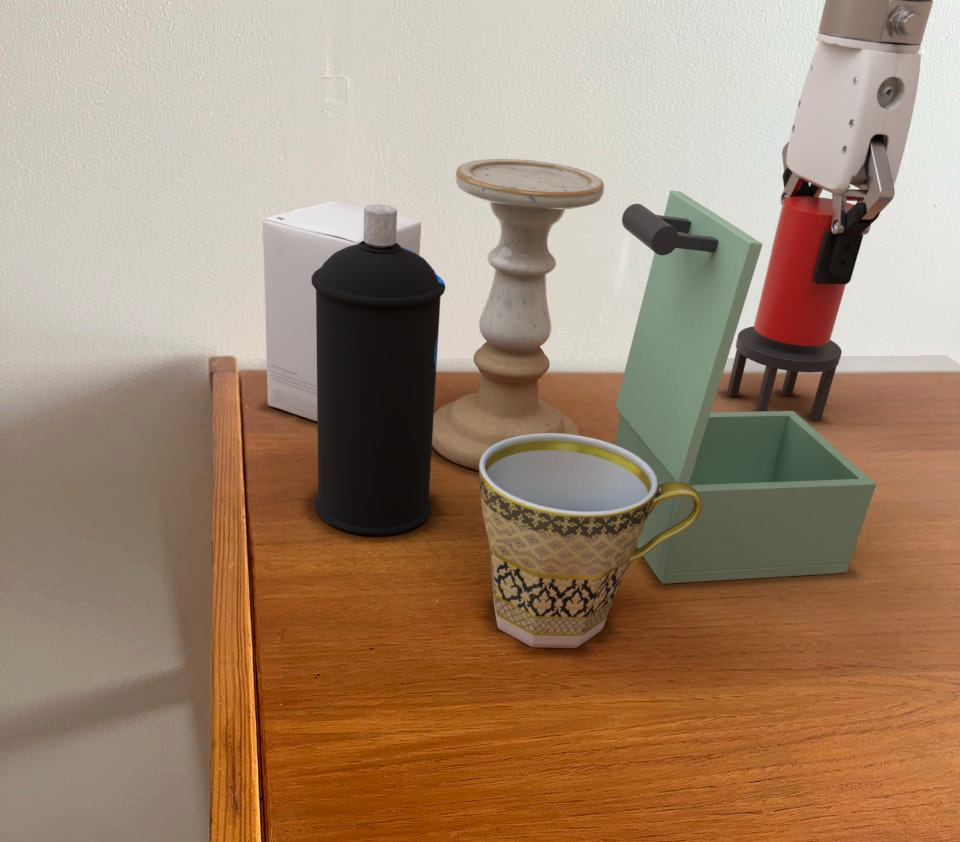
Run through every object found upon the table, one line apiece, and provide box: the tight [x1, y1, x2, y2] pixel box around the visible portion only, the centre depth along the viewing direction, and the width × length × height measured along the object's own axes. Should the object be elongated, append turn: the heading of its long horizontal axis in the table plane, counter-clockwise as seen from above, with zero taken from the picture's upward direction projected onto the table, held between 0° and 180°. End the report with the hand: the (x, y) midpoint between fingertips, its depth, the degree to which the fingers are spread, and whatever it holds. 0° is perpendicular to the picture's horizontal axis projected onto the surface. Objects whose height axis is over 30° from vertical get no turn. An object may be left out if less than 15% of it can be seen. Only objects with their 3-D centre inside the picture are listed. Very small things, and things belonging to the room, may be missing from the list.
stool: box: [726, 325, 843, 421], centre depth 92 cm, size 9×9×6 cm
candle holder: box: [432, 158, 605, 471], centre depth 77 cm, size 12×12×20 cm
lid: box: [615, 190, 763, 484], centre depth 63 cm, size 14×12×5 cm
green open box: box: [613, 410, 877, 585], centre depth 71 cm, size 14×12×7 cm
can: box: [753, 196, 855, 346], centre depth 87 cm, size 7×7×10 cm
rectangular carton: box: [262, 200, 422, 422], centre depth 82 cm, size 9×9×15 cm
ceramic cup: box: [478, 433, 701, 649], centre depth 60 cm, size 13×10×10 cm
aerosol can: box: [311, 204, 446, 537], centre depth 67 cm, size 8×8×20 cm
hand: (809, 267), depth 87 cm, fingers closed on can, 6 cm apart
